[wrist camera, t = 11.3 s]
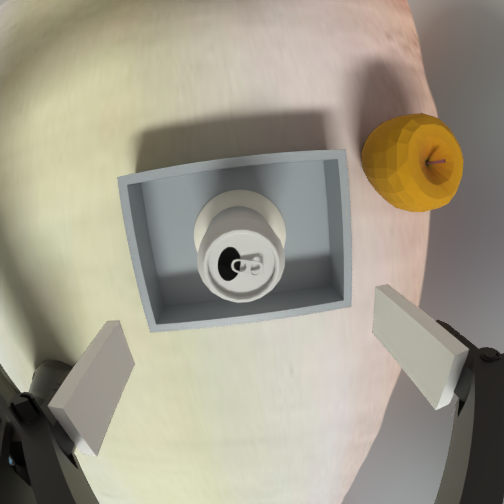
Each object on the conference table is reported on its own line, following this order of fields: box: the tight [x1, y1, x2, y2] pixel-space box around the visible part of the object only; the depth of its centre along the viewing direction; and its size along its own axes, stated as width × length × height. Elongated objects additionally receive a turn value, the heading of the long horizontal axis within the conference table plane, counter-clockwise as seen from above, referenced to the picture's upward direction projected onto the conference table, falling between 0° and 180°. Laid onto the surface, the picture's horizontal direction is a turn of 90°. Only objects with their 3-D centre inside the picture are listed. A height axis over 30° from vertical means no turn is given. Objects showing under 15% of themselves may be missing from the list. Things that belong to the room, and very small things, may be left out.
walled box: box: [117, 149, 352, 332], centre depth 32 cm, size 24×18×6 cm
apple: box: [362, 113, 463, 212], centre depth 28 cm, size 11×11×13 cm
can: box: [197, 206, 285, 303], centre depth 28 cm, size 8×8×12 cm
